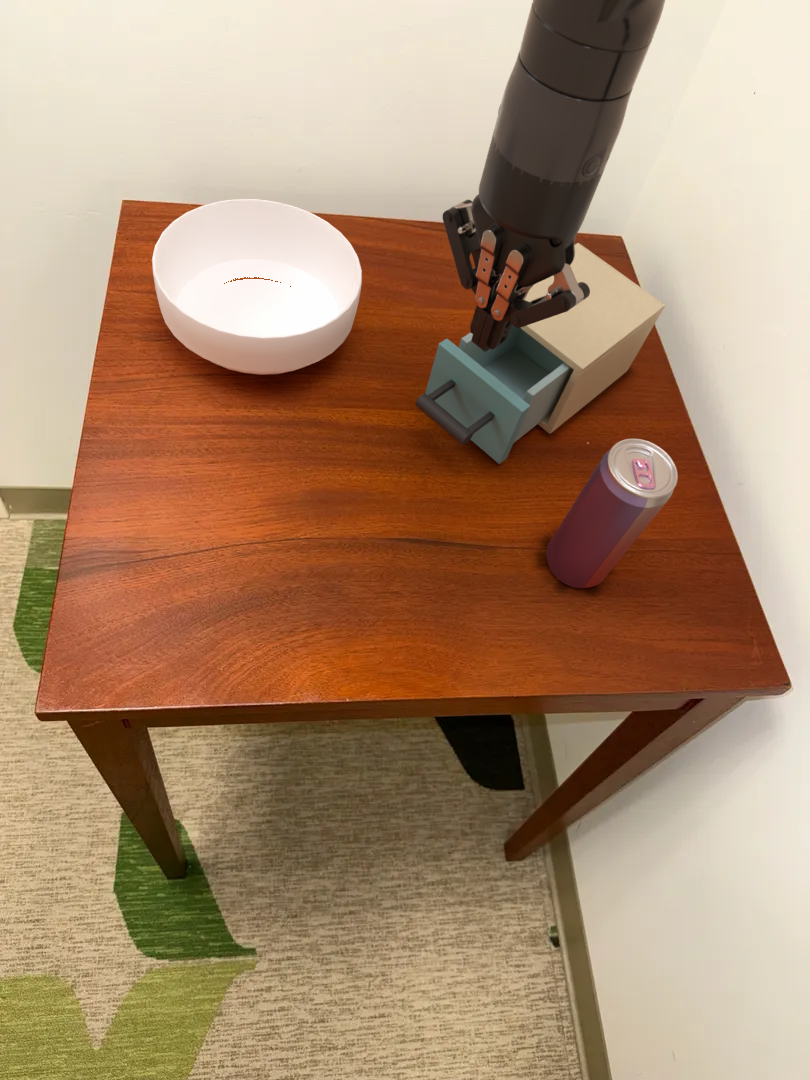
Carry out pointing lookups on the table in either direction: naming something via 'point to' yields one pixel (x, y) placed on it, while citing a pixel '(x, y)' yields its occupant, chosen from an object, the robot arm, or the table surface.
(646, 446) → the beverage can
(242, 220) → the bowl
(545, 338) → the beige box
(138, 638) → the table surface
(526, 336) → the drawer
